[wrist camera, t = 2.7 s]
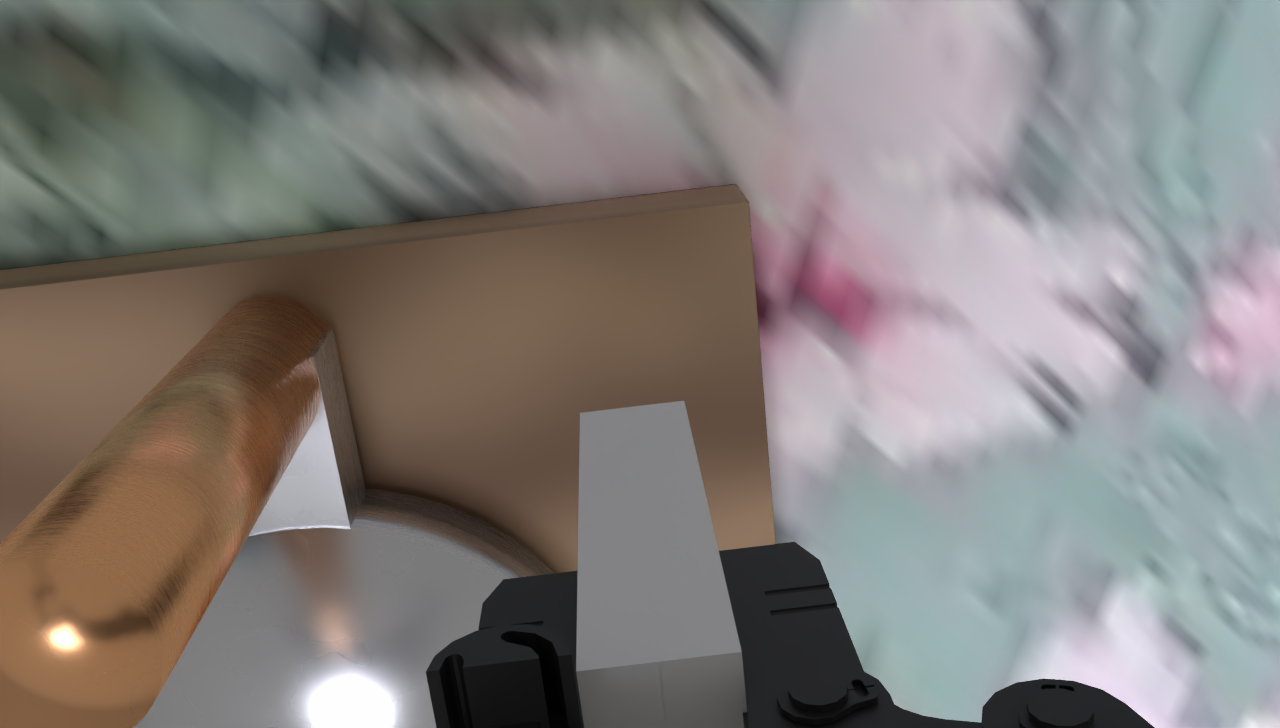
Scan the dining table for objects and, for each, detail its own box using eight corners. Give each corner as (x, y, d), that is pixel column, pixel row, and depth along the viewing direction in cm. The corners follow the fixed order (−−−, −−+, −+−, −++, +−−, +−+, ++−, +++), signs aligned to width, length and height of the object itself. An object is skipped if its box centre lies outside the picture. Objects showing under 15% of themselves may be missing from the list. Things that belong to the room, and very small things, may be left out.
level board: (-178, 291, 26) (-324, 355, 21) (736, 184, 26) (766, 227, 22) (87, 1047, 33) (16, 1205, 29) (799, 958, 33) (831, 1102, 29)
